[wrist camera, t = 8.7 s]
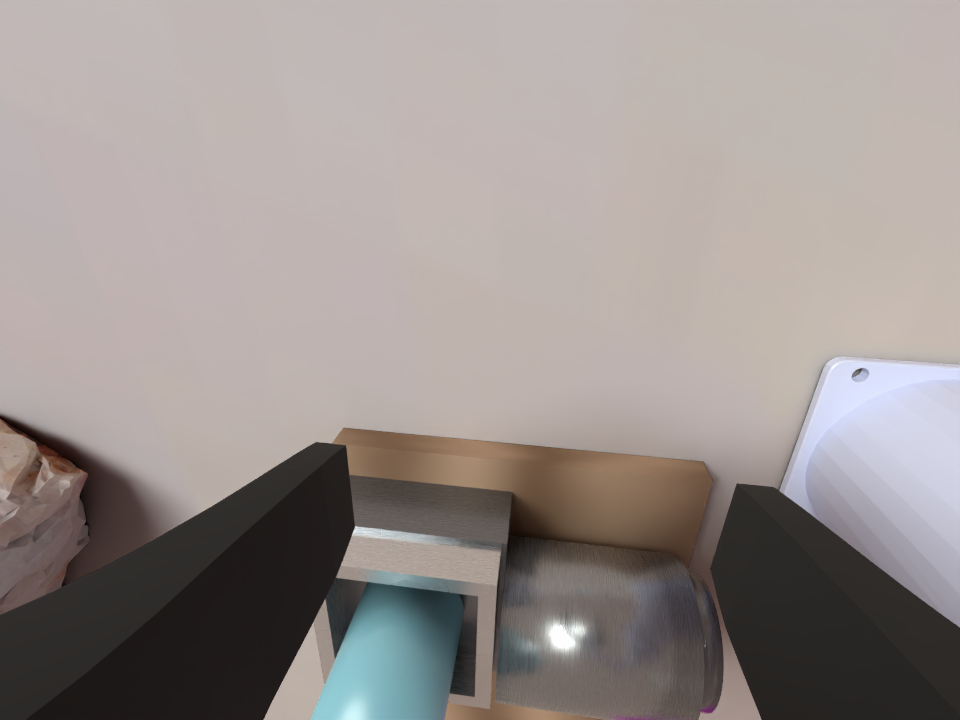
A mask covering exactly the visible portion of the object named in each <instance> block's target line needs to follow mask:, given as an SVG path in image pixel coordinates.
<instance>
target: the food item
mask: <svg viewBox="0 0 960 720" xmlns="http://www.w3.org/2000/svg"><path fill="white" fill-rule="evenodd" d="M87 476H88V473H86V472H84V471H82V470H81V469H78V468H77V467H76V466H75V465H74V464H73V463H72V462H70V461H69V460H67V459H65V458H63V457H62V456H61V455H60V454H59V453H57V452H56V451H54V450H52V449H50V448H48V447H47V446H46V445H43V444H42V443H40V442H39V441H38V440H36V439H34V438H32V437H30V436H29V435H27V434H26V433H24V432H22V431H20V430H18V429H16V428H14V427H12V426H10V425H9V424H8V423H6V422H5V421H3V420H1V419H0V615H1V614H3V613H6V612H8V611H10V610H12V609H15V608H17V607H19V606H21V605H24V604H26V603H28V602H31V601H33V600H35V599H37V598H40V597H42V596H44V595H46V594H48V593H51V592H53V591H55V590H57V589H59V588H61V587H62V582H63V580H64V577H65V575H66V570H67V564H68V563H69V562H70V561H71V560H72V559H73V558H74V557H75V556H76V555H77V554H78V553H79V552H80V551H81V550H82V549H83V548H84V547H85V546H86V545H87V544H88V543H89V542H90V538H91V537H90V536H88V526H86V525H85V522H86V519H85V512H84V507H83V503H82V501H81V500H80V498H79V496H80V493H81V490H82V488H83V486H84V483H85V481H86V479H87Z"/></svg>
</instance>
